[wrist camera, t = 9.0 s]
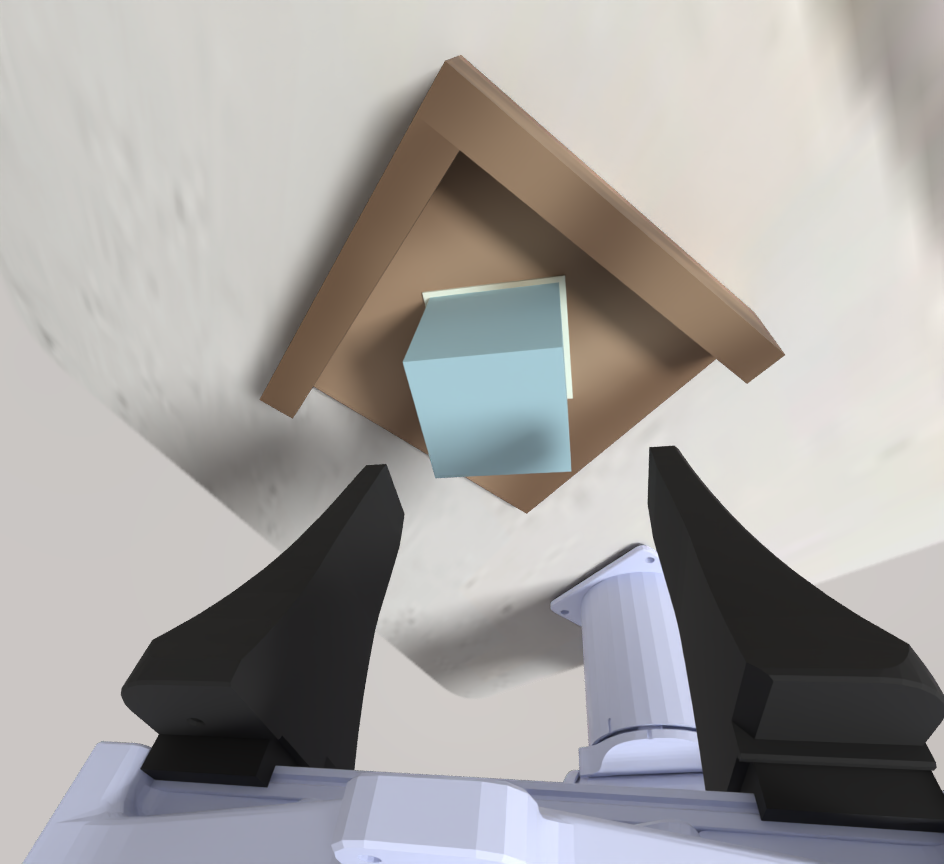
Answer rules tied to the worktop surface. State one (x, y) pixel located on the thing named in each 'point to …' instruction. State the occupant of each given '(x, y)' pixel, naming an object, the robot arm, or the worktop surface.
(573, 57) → the worktop surface
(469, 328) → the cube
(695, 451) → the worktop surface
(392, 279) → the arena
